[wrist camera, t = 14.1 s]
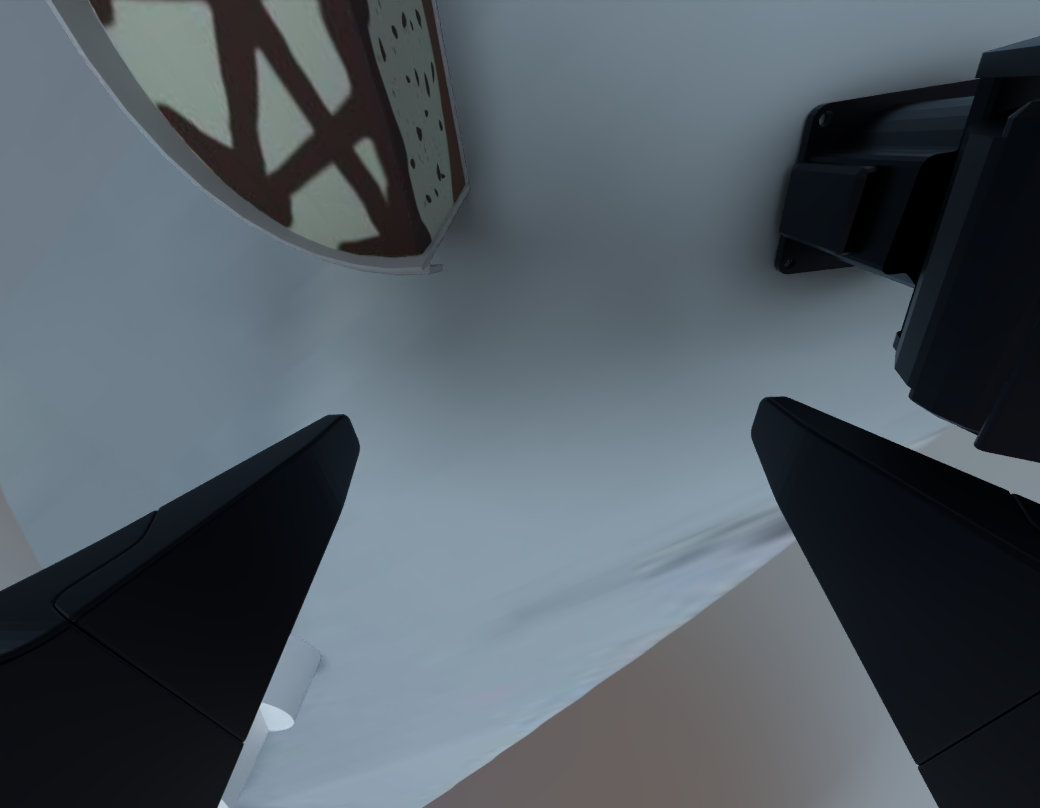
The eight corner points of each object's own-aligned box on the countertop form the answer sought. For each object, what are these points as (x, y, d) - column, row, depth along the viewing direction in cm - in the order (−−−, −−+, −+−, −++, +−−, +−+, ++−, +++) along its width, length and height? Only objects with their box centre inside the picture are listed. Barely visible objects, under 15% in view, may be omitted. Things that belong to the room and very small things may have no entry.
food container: (205, -177, 12) (-535, -896, 4) (395, -229, 11) (15, -1237, 3) (353, 241, 19) (209, 319, 10) (477, 224, 18) (428, 291, 10)
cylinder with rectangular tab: (231, 625, 41) (133, 780, 31) (318, 637, 42) (250, 791, 32) (245, 662, 46) (165, 806, 36) (323, 672, 47) (266, 815, 37)
